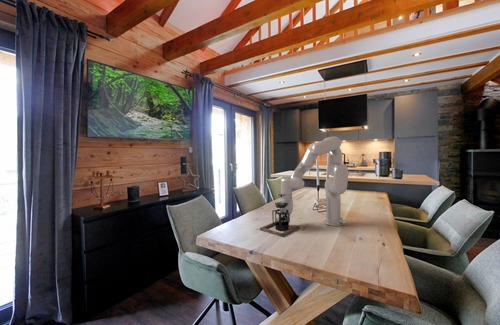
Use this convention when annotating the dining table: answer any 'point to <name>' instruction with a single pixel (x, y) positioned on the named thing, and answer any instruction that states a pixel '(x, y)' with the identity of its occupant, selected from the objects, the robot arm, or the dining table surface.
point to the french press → (282, 223)
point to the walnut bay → (277, 232)
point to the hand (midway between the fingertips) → (287, 222)
